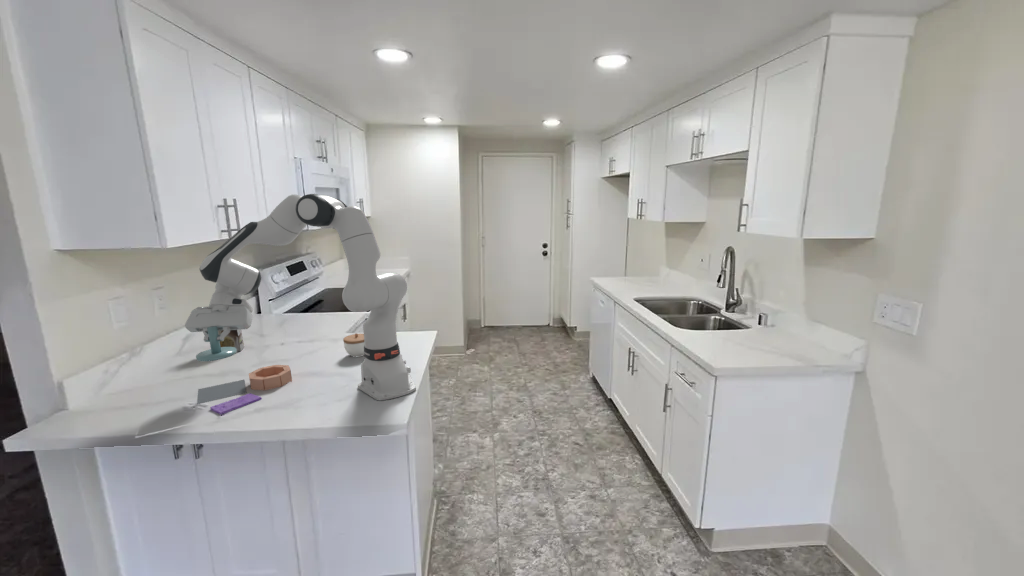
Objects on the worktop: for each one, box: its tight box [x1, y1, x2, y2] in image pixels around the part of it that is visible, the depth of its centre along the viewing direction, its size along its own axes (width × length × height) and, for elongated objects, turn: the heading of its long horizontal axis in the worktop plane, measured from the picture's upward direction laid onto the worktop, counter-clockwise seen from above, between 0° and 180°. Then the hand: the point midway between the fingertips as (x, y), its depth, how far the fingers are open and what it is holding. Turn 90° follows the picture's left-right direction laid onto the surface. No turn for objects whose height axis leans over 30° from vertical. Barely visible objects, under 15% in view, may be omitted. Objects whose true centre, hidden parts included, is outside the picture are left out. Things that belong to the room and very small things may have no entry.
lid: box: [195, 326, 238, 362], centre depth 148 cm, size 12×12×10 cm
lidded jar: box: [342, 333, 365, 358], centre depth 185 cm, size 11×11×9 cm
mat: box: [196, 379, 248, 405], centre depth 152 cm, size 14×14×1 cm
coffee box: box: [218, 329, 245, 353], centre depth 193 cm, size 9×6×16 cm
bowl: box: [248, 364, 293, 391], centre depth 158 cm, size 13×13×4 cm
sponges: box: [209, 392, 262, 417], centre depth 142 cm, size 7×13×2 cm, turn 147°
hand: (213, 340), depth 147 cm, fingers closed on lid, 3 cm apart
